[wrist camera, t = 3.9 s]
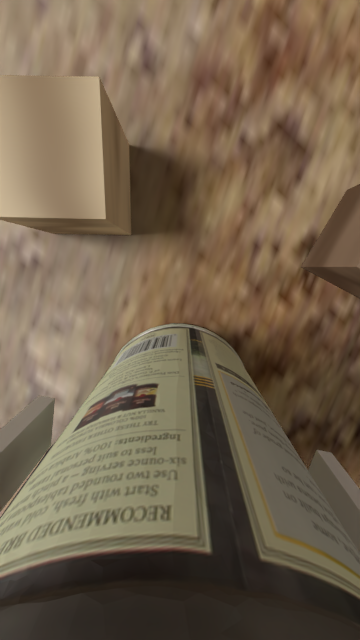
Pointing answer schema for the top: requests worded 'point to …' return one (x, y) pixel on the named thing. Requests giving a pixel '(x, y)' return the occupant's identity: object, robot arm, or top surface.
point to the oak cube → (62, 156)
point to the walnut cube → (339, 246)
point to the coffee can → (175, 513)
